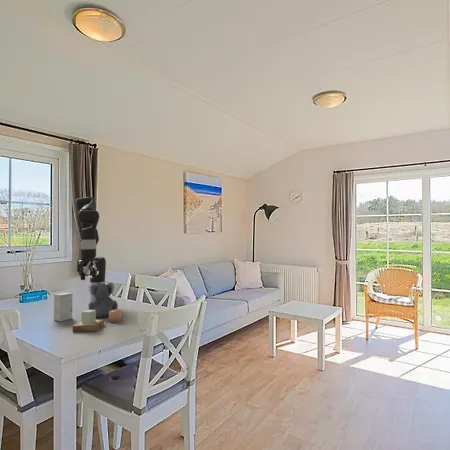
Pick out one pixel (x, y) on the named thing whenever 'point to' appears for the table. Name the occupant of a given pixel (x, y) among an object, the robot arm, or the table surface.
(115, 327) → the table surface
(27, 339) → the table surface
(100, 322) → the walnut base
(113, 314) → the tan rounded block
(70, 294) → the skincare box
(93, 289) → the koala plush
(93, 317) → the sage block
